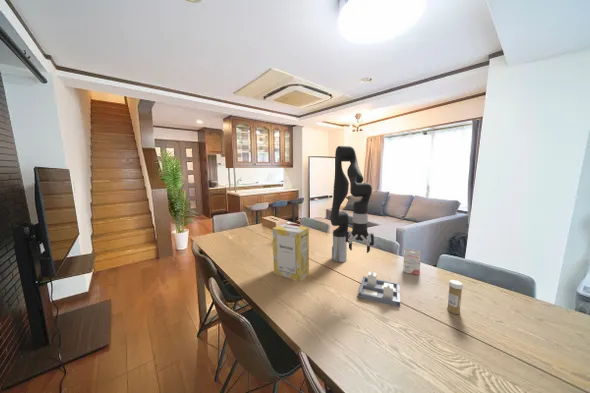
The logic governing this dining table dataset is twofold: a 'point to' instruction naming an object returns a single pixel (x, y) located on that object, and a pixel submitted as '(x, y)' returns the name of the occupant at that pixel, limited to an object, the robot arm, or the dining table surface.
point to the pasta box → (291, 251)
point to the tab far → (372, 278)
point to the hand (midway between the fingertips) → (359, 251)
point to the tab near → (388, 290)
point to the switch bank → (379, 292)
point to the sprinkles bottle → (454, 296)
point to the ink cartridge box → (412, 261)
